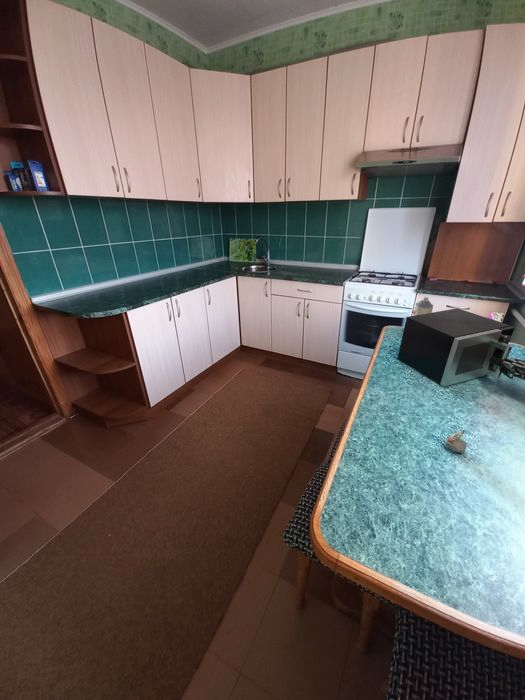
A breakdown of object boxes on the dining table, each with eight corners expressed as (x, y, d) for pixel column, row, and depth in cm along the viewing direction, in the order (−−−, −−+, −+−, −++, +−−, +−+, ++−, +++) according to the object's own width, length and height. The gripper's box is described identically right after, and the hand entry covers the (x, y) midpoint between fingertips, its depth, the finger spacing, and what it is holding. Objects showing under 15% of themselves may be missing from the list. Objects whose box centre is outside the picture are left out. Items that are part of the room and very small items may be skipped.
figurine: (467, 457, 72) (474, 439, 69) (447, 454, 73) (454, 436, 70) (458, 441, 76) (465, 424, 74) (440, 439, 77) (446, 422, 74)
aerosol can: (410, 335, 137) (420, 294, 128) (426, 339, 133) (437, 297, 123) (405, 340, 132) (415, 297, 123) (421, 344, 128) (432, 300, 119)
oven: (499, 373, 106) (517, 328, 98) (445, 388, 98) (460, 340, 90) (445, 348, 125) (457, 308, 117) (397, 358, 117) (406, 316, 109)
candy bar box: (477, 347, 125) (490, 311, 118) (491, 350, 122) (505, 313, 115) (472, 356, 118) (485, 318, 110) (487, 360, 115) (501, 321, 107)
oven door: (501, 384, 100) (521, 337, 92) (459, 396, 94) (477, 347, 86) (480, 373, 106) (497, 328, 98) (439, 384, 100) (454, 337, 92)
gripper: (574, 367, 84) (509, 344, 99) (547, 377, 79) (483, 351, 94) (563, 389, 88) (501, 364, 102) (535, 400, 83) (475, 371, 97)
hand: (492, 358), depth 98 cm, fingers closed on oven door, 2 cm apart
